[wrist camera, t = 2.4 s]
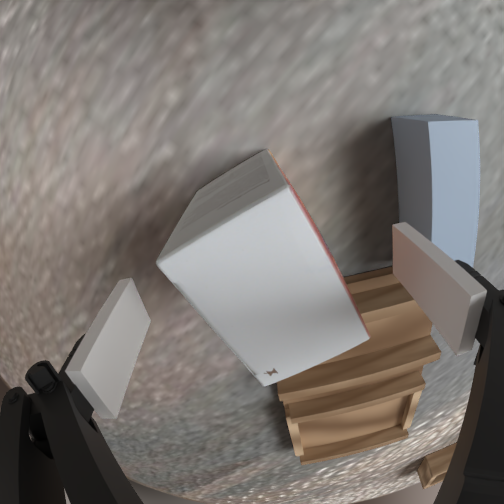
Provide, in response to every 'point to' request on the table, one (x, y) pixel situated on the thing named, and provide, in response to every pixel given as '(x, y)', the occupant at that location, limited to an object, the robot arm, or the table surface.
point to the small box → (262, 273)
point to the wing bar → (439, 180)
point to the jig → (363, 377)
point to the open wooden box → (435, 466)
